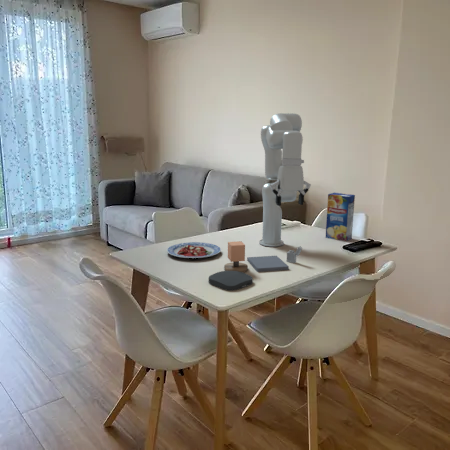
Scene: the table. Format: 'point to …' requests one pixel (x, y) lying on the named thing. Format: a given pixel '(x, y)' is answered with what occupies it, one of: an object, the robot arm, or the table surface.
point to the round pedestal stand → (236, 267)
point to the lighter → (293, 255)
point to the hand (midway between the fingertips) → (289, 204)
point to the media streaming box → (230, 280)
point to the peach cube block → (236, 251)
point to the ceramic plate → (193, 250)
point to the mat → (267, 263)
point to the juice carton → (340, 216)
